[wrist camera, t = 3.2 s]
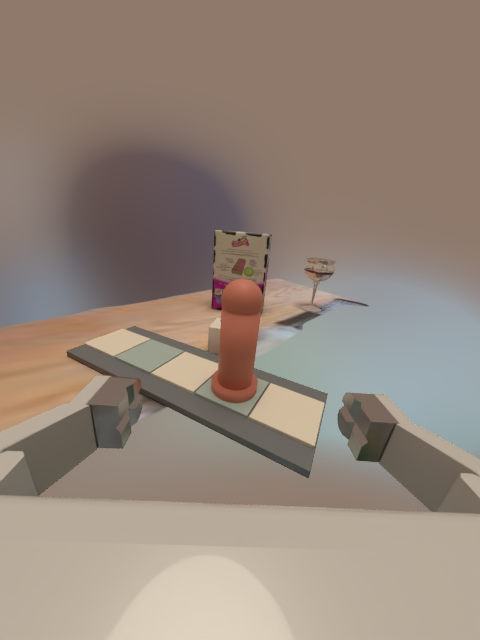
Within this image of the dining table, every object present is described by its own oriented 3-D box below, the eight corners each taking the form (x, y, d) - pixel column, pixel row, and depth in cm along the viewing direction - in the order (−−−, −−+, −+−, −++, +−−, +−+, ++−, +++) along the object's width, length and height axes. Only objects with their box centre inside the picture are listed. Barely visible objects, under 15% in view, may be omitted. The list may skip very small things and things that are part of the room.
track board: (134, 330, 37) (134, 324, 37) (326, 399, 25) (328, 391, 25) (67, 355, 28) (65, 348, 28) (308, 478, 17) (311, 468, 16)
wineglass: (312, 303, 61) (322, 258, 57) (330, 312, 55) (343, 262, 51) (291, 304, 58) (300, 257, 54) (308, 313, 53) (320, 261, 48)
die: (216, 340, 36) (217, 316, 35) (240, 344, 36) (243, 321, 34) (207, 352, 32) (208, 326, 31) (235, 357, 32) (237, 331, 30)
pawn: (225, 369, 27) (233, 272, 23) (263, 383, 25) (278, 280, 21) (201, 391, 23) (205, 278, 19) (244, 410, 21) (258, 288, 17)
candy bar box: (263, 309, 53) (273, 234, 47) (260, 316, 48) (271, 234, 42) (217, 302, 55) (221, 229, 49) (210, 308, 50) (214, 229, 44)
